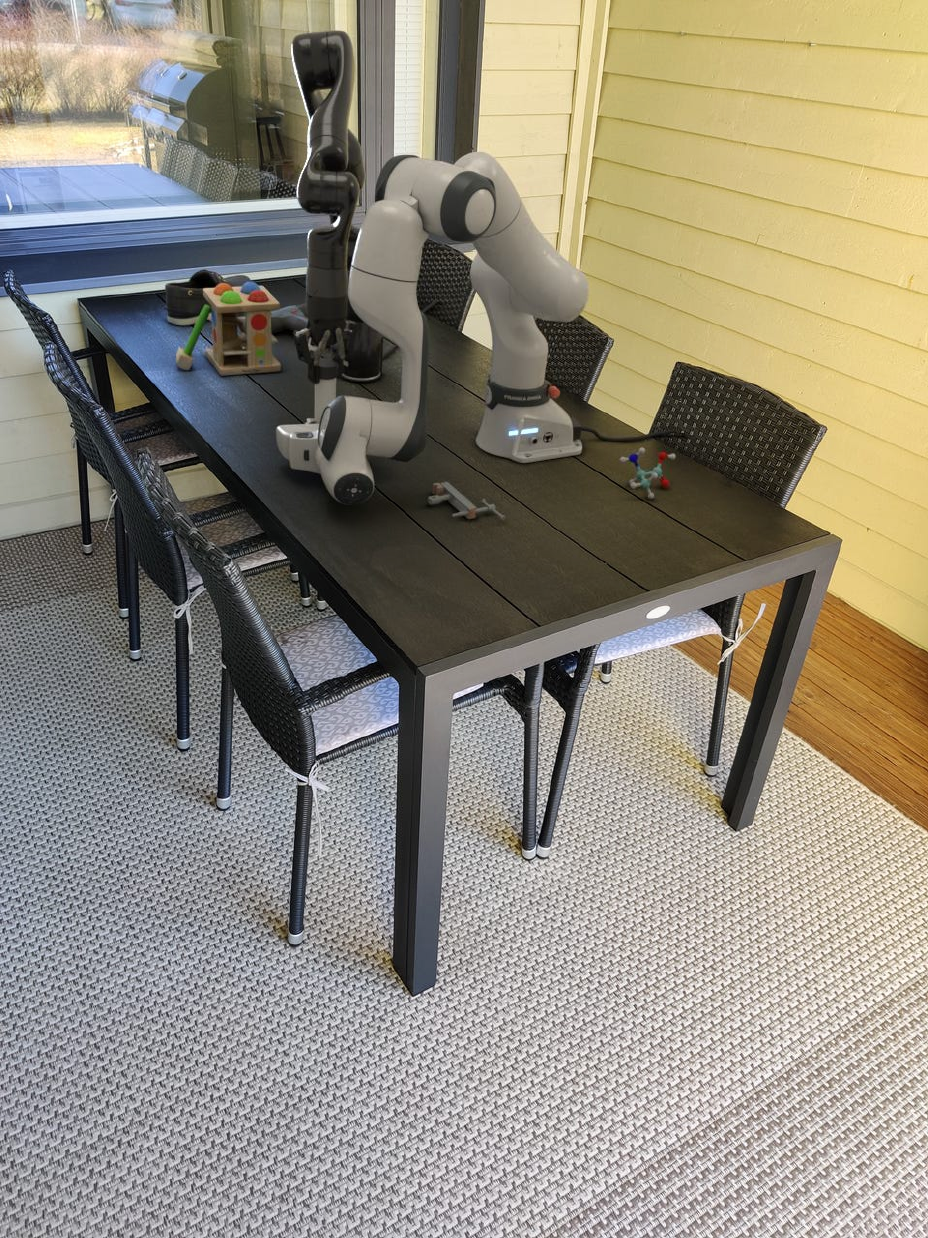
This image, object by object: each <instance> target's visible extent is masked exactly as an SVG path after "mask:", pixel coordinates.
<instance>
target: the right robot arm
mask: <svg viewBox="0 0 928 1238" xmlns="http://www.w3.org/2000/svg"><path fill="white" fill-rule="evenodd" d="M359 228H360V231H359V234H358V238H357V241H356V245H355V249H354V253H353V258H352V263H351V269H350V271H349V274H348V298H349V301H350V304H351V306H352V308H353V310H354V311H355V313H356V314H357V315H358V316H359V318H360V319H361V320H363V321H364V322H365V323H366V324H367V325H369V326H370V327H372V328H373V329H375V330H376V331H378V332H379V333H381V334H382V335H383V337H386V338H388V339H389V340H390V341H392V342H393V343H395V344H397V345H398V348H399V350H400V353H401V357H402V359H401V360H402V361H401V367H402V368H401V388H400V390H401V391H400V399H399V400H398V401H396V402H391V401H383V400H376V399H369V398H366V397H359V396H353V395H343V394H340V395H338V396H336V398H335V399H334V400H333V401H332V402H331V403H329V404H328V406H327V407H326V408H325V409H324V411H323V413H322V415H321V419H320V423H319V424H316V421H315V417H314V418H312V417H310V418H309V417H308V418H306V422H305V423H301V424H300V423H299V424H298V423H297V424H280V425H278V426H277V427H275V437H276V438H275V440H276V441H275V442H276V446H277V448H278V450H279V452H280V454H281V456H282V457H283V458H285V459H286V460H288V462H289V467H290V469H292V470H298V471H306V472H311V473H315V474H319V475H320V477H321V479H322V482H323V484H324V486H325V488H326V490H327V491H328V493H329V495H330V496H331V497H332V498H333V499H334V500H335V501H337V502H338V503H340V504H343V505H347V506H354V505H355V506H356V505H359V504H362V503H364V502H366V501H367V500H368V499H370V498H371V497H372V495H373V493H374V491H375V479H374V474H373V470H372V468H371V465H370V462H369V460H368V458H367V456H371V457H380V458H386V459H388V460H393V461H397V462H402V463H408V462H409V461H411V460H413V459H415V458H416V457H417V456H418V455H420V454H421V453H422V452H423V451H424V450H425V448H426V445H427V441H428V440H427V439H428V414H427V413H428V410H427V408H428V407H427V406H428V405H427V402H428V384H429V383H428V382H429V363H430V362H429V361H430V360H429V359H430V328H429V327H430V326H429V322H428V317H427V315H426V314H425V313H424V314H423V313H422V312H421V311H422V310H420V307H419V304H418V298H417V287H418V286H417V285H418V280H419V275H420V270H421V262H422V255H423V247H424V244H425V242H426V240H427V239H428V238H429V236H430V235H429V234H431V235H434V236H438V237H443V238H447V239H450V240H451V241H453V242H461V243H470V242H471V244H472V245H473V247H474V249H475V251H476V254H475V256H474V258H473V259H472V262H471V265H470V271H469V277H470V279H469V280H470V283H471V286H472V289H473V290H474V291H475V293H476V294H477V295H478V297H479V299H480V300H481V302H482V304H483V306H484V309H485V312H486V315H487V318H488V322H489V326H490V332H491V342H492V345H491V361H490V373H489V375H488V376H487V380H486V387H485V396H484V397H485V399H484V400H485V407H484V412H483V417H482V421H481V424H480V427H479V430H478V432H477V435H476V437H475V444H476V445H477V447H478V448H480V449H481V450H483V451H485V452H487V453H489V454H491V455H494V456H497V457H501V458H502V457H503V458H507V459H510V460H512V461H515V462H516V463H520V464H526V463H528V464H529V463H533V462H534V463H535V462H541V461H546V460H552V459H553V460H554V459H559V458H566V457H573V456H578V455H581V454H582V453H583V444H582V441H581V434H582V431H583V432H588V433H591V434H593V435H594V436H595V437H596V438H597V439H598V440H601V441H604V442H612V443H625V442H635V441H636V442H637V441H642V440H645V439H649V438H653V437H659V436H664V435H665V436H667V435H670V434H676V433H675V430H673V429H667V430H662V431H653V432H650V433H647V434H643V435H638V436H632V437H607V436H603V435H601V434H600V433H599V432H598V431H597V430H596V429H593V428H591V427H589V426H588V427H587V426H582V425H581V424H580V422H579V421H578V420H577V418H575V417H574V416H569V414H568V413H567V411H565V409H563V407H561V406H560V405H559V404H558V403H557V402H556V401H555V400H553V399H557V398H559V397H560V394H561V391H560V389H559V388H557V386H555V385H552V383H551V382H549V381H548V380H546V379H545V378H546V371H547V363H548V356H549V345H548V341H547V339H546V337H545V336H544V334H543V333H542V331H540V329H539V328H538V325H537V323H536V321H535V318H537V319H539V320H542V321H547V322H556V323H570V322H572V321H574V320H575V319H576V318H578V317H579V316H580V315H581V313H583V311H584V309H585V308H586V306H587V303H588V301H589V295H590V286H589V281H588V278H587V276H586V275H585V273H584V272H582V271H581V270H580V269H578V268H577V267H576V266H574V265H573V264H572V263H570V261H568V260H567V259H566V258H565V257H564V256H563V255H562V254H560V252H559V251H558V250H557V249H556V248H555V247H554V246H553V245H552V244H551V243H550V242H549V240H548V239H547V238H546V237H545V236H544V235H543V233H542V232H541V231H540V230H539V229H538V227H537V226H536V225H535V223H534V222H533V220H532V217H531V216H530V214H529V212H528V210H527V208H526V206H525V204H524V202H523V200H522V198H521V196H520V194H519V192H518V190H517V188H516V186H515V184H514V183H513V181H512V179H511V178H510V176H509V174H508V173H507V171H506V170H505V169H504V168H503V166H502V165H501V164H500V162H499V161H498V160H497V159H496V158H495V157H493V155H491V154H490V153H487V152H484V151H473V152H469V153H467V154H465V155H463V156H461V157H460V158H459V159H457V160H456V161H455V163H453V164H452V163H449V162H446V161H442V160H435V159H432V158H431V159H430V158H424V157H420V156H418V155H415V154H398V155H395V156H392V157H391V158H390V159H388V160H387V161H386V162H385V164H384V165H383V166H382V168H381V170H380V172H379V174H378V177H377V180H376V184H375V188H374V202H373V203H372V204H371V205H370V206H368V209H367V210H366V212H365V215H364V217H363V220H362V222H361V226H360V227H359ZM678 434H680V435H681V436H682V437H684V438H688V437H689V435H688V434H687V433H686V434H684V433H678Z"/></svg>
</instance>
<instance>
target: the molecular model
mask: <svg viewBox="0 0 928 1238" xmlns="http://www.w3.org/2000/svg"><path fill="white" fill-rule="evenodd" d="M645 452H646V449H645V447H640V448H639V449H638V452H636V453H631V454H630V455H629V457H628V456H627V457H625V456H621V457H619V463H621V464H625V463H626V462H628V461H630V462H631V463H633V464H634V466H635V468H636V471H637V472H636V476H635V477H634V478H631V479H629V481H628V483H629V487H630V489H633V490H635V489H636V488H638V487H641V488H643V489H645V490H646V492H647V499H649V500H653V499H654V498H655V494H654V493H653V492H652V491H651V489H650V486H651V482H652V481H653V480H656V479H658V480H659V482H660V485H661V487H662V488H664V489H666V488H668V487H669V486H670V481H669V480H668V479H666V478H665V476H664V475H663V474H662V473H663V470H662V468H661V467H662V464H663V461H664V460H666V459H670V460H672V461H674V460H675V459H676V454H675V453H670V454H667V453H666V452H664V451H661V452H659V453H658V456H657V457H658V459H659V460H658V463H657V466H656V467H654V468H653V469H652V470H650V471H645V470H643V469H641V467H640V465H639V463H638V460H639V456H640V455H643V454H645ZM650 475H651V476H650ZM646 476H650V477H649V478H646ZM638 480H640V482H637V481H638ZM636 482H637V483H636Z"/></svg>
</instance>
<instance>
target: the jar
mask: <svg viewBox="0 0 928 1238" xmlns="http://www.w3.org/2000/svg"><path fill="white" fill-rule="evenodd" d="M335 398H337V378H335V379H327V380H326V379H320V382H319V384H314V419H315V421H316V424H319V423H320V419H321V415H322V413H323V411H324V409H325V408H326V407H327V406H328V404H329V403H331V402H332V401H333V400H334V399H335Z"/></svg>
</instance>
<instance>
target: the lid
mask: <svg viewBox="0 0 928 1238" xmlns="http://www.w3.org/2000/svg"><path fill="white" fill-rule="evenodd" d="M318 365H320V379H326V380H327V379H335V378H336V379H337V377H338V376H339V363H338V362H337V361H335V360H333V359H332V358H327V357H326V358H320V361H319V364H318Z"/></svg>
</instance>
